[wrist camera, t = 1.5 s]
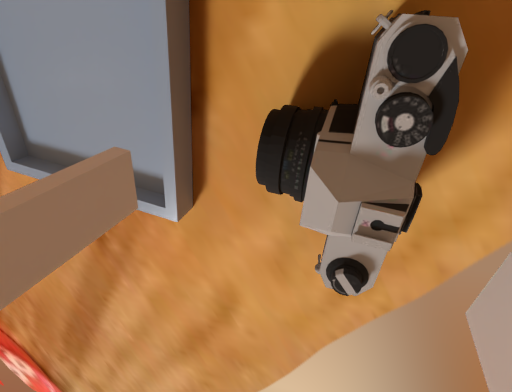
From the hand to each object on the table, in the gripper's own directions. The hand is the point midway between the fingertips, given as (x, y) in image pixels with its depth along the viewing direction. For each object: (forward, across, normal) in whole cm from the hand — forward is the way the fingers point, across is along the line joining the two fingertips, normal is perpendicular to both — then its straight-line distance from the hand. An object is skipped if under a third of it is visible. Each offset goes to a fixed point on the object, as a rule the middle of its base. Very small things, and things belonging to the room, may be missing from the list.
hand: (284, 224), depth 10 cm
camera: (+10, +1, 0) cm, 10 cm away
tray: (+9, -18, +1) cm, 21 cm away
